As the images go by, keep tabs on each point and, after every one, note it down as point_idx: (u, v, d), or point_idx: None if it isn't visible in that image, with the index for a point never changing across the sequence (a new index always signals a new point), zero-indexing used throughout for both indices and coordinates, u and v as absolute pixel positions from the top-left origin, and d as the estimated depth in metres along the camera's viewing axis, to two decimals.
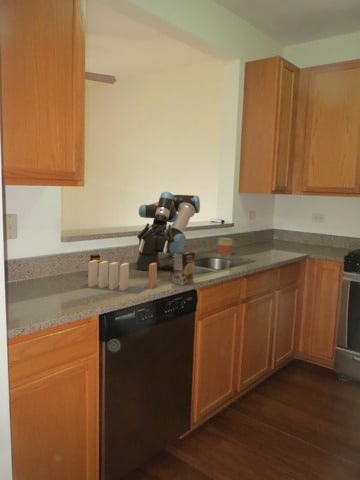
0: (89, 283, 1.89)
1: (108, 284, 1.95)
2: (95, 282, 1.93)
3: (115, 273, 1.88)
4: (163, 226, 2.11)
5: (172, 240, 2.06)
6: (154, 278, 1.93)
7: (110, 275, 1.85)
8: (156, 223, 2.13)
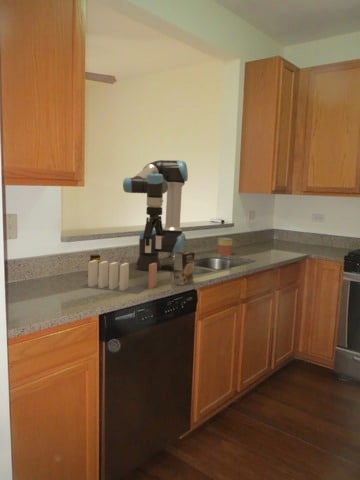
0: (89, 283, 1.89)
1: (108, 284, 1.95)
2: (95, 282, 1.93)
3: (115, 273, 1.88)
4: None
5: None
6: (154, 278, 1.93)
7: (110, 275, 1.85)
8: (155, 216, 1.87)
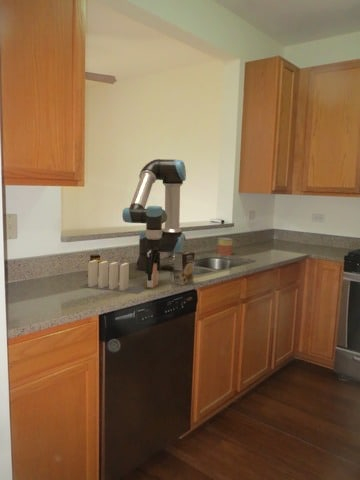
0: (89, 283, 1.89)
1: (108, 284, 1.95)
2: (95, 282, 1.93)
3: (115, 273, 1.88)
4: (157, 249, 1.94)
5: None
6: (154, 278, 1.93)
7: (110, 275, 1.85)
8: (154, 247, 1.89)
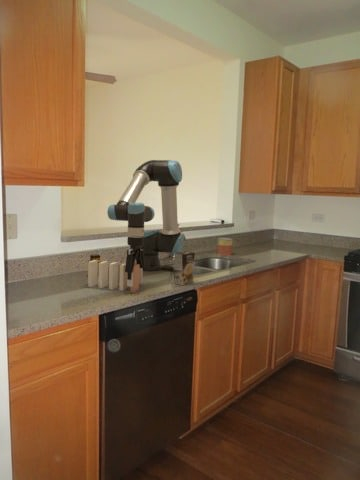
0: (89, 283, 1.89)
1: (108, 284, 1.95)
2: (95, 282, 1.93)
3: (115, 273, 1.88)
4: (140, 248, 1.85)
5: (143, 265, 1.92)
6: (136, 280, 1.85)
7: (110, 275, 1.85)
8: (136, 246, 1.81)
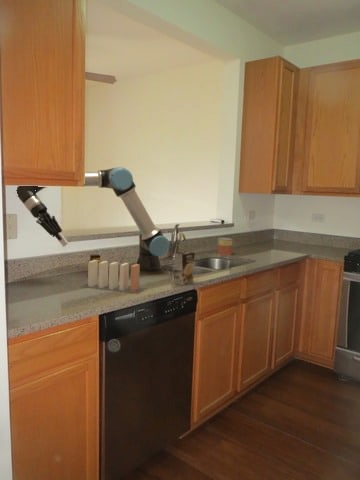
0: (89, 283, 1.89)
1: (108, 284, 1.95)
2: (95, 282, 1.93)
3: (115, 273, 1.88)
4: None
5: (61, 231, 1.96)
6: (136, 280, 1.85)
7: (110, 275, 1.85)
8: (39, 212, 1.91)
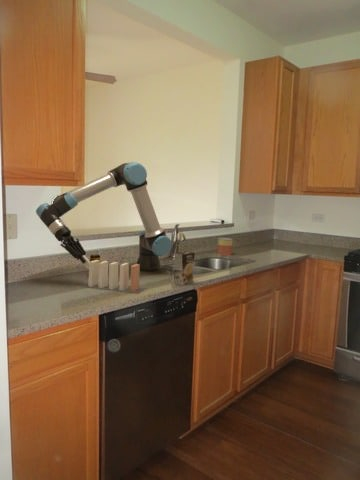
0: (89, 283, 1.89)
1: (108, 284, 1.95)
2: (95, 282, 1.93)
3: (115, 273, 1.88)
4: None
5: (85, 253, 1.95)
6: (136, 280, 1.85)
7: (110, 275, 1.85)
8: (63, 235, 1.91)
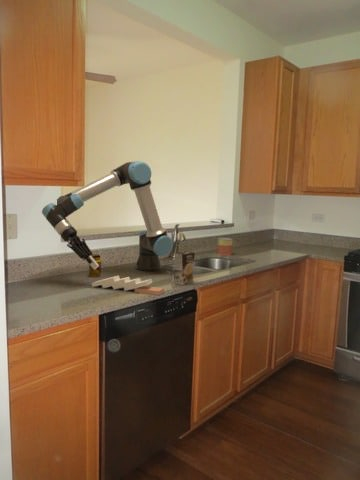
0: (94, 284, 1.88)
1: None
2: None
3: None
4: None
5: (91, 254, 1.94)
6: None
7: (125, 284, 1.83)
8: (69, 235, 1.90)
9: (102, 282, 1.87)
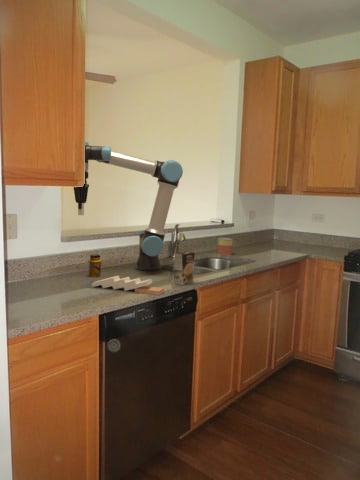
0: (94, 284, 1.88)
1: None
2: None
3: None
4: None
5: (85, 201, 2.16)
6: None
7: (125, 284, 1.83)
8: None
9: (102, 282, 1.87)
